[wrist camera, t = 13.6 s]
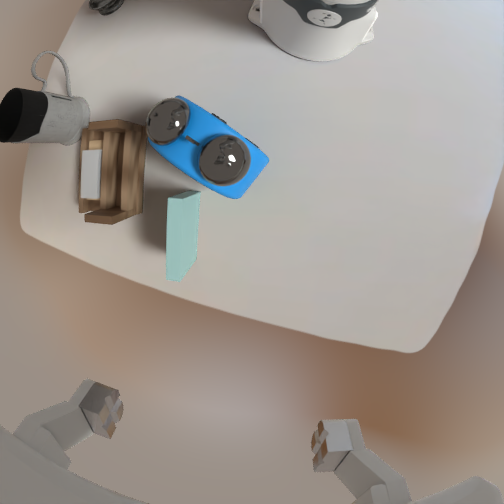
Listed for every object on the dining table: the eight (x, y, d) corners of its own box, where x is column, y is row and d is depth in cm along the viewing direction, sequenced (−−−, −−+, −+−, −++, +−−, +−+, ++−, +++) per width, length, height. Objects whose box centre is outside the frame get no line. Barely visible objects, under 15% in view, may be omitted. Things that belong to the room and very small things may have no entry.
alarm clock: (170, 141, 35) (117, 131, 21) (196, 106, 34) (155, 75, 19) (243, 194, 37) (228, 212, 23) (271, 159, 35) (273, 154, 21)
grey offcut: (88, 150, 33) (82, 150, 31) (105, 149, 33) (99, 149, 31) (86, 196, 35) (80, 198, 34) (102, 197, 35) (97, 198, 33)
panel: (188, 190, 37) (167, 197, 29) (200, 191, 37) (183, 198, 29) (185, 257, 40) (166, 279, 32) (196, 258, 40) (180, 281, 32)
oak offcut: (95, 141, 34) (89, 140, 32) (111, 140, 34) (106, 139, 32) (92, 198, 37) (86, 199, 35) (108, 199, 37) (102, 200, 35)
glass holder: (49, 139, 35) (-12, 140, 21) (76, 66, 31) (20, 46, 17) (79, 150, 36) (14, 153, 22) (110, 71, 32) (53, 45, 17)
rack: (94, 130, 35) (62, 126, 27) (148, 126, 35) (120, 119, 27) (91, 208, 39) (59, 219, 31) (142, 212, 39) (114, 224, 31)
